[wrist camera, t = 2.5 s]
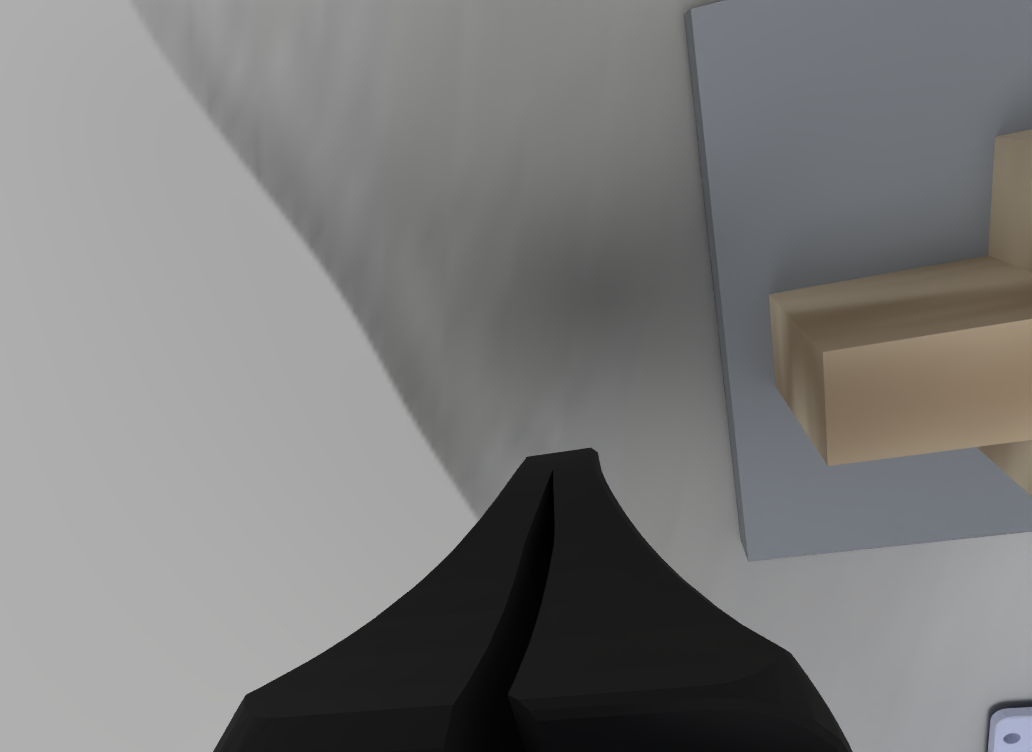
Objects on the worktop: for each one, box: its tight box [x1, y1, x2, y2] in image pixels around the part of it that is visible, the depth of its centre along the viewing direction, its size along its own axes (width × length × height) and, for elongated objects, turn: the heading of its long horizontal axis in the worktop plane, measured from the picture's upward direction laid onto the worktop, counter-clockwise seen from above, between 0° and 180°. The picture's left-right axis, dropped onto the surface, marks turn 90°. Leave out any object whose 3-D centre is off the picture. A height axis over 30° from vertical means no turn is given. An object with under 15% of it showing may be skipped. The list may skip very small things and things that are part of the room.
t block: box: [769, 129, 1032, 496], centre depth 14 cm, size 8×8×4 cm
